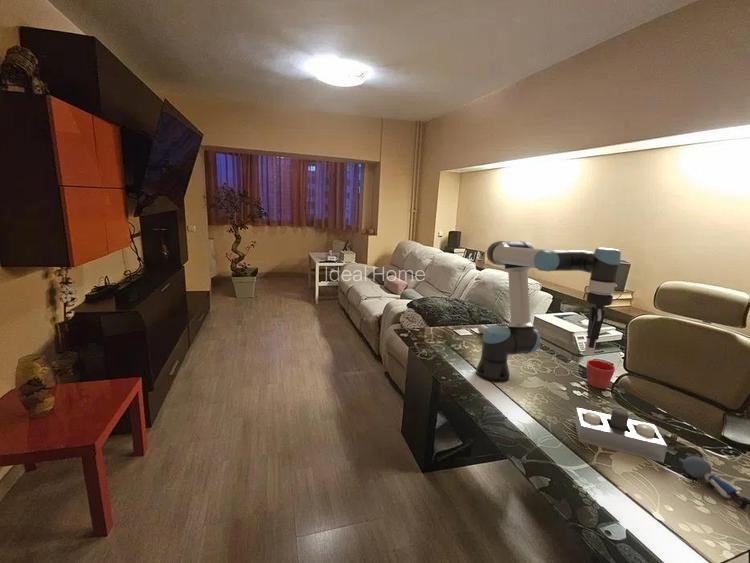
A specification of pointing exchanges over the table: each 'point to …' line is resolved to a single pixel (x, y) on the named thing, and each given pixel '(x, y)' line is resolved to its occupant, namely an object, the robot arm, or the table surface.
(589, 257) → the robot arm
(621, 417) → the knob mid
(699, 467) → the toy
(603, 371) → the flower pot
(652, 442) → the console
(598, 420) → the knob
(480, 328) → the carnation
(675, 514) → the table surface
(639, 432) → the knob
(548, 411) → the table surface
